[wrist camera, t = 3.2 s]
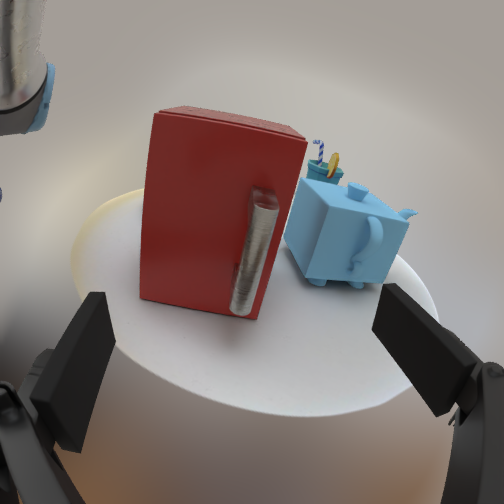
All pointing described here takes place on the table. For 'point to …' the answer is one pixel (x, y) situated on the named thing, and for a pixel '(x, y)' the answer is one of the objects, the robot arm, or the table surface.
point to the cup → (324, 167)
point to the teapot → (343, 233)
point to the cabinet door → (214, 212)
